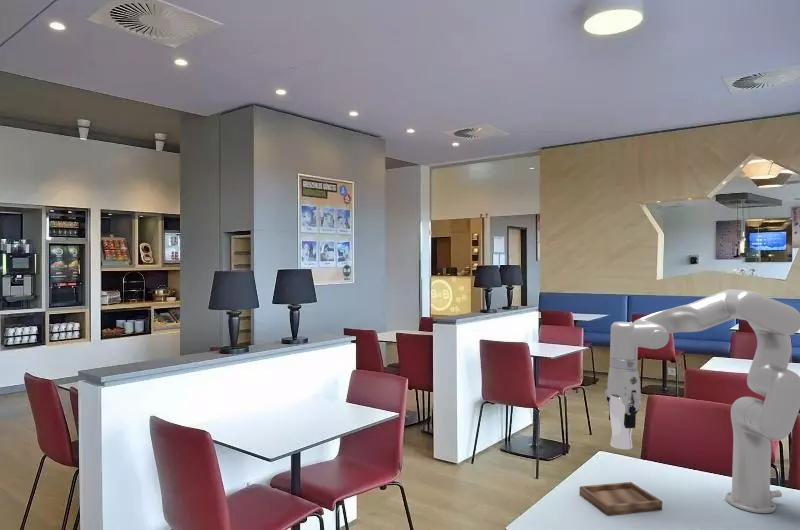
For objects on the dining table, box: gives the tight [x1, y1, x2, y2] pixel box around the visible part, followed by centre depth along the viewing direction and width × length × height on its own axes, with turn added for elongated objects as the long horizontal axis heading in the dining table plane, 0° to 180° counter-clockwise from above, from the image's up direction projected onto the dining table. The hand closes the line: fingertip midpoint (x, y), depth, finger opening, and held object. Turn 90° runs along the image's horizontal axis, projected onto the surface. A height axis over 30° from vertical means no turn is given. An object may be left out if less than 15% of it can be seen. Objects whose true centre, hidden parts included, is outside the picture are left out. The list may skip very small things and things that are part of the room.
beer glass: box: [609, 394, 633, 450], centre depth 163 cm, size 7×7×15 cm
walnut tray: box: [578, 481, 663, 517], centre depth 164 cm, size 18×14×2 cm
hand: (621, 423), depth 164 cm, fingers closed on beer glass, 6 cm apart
